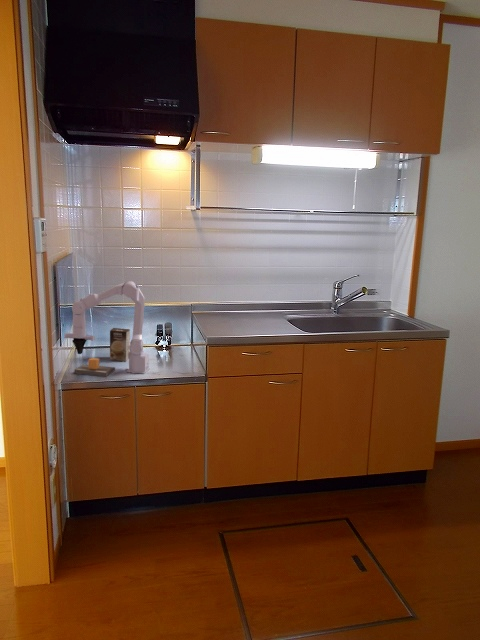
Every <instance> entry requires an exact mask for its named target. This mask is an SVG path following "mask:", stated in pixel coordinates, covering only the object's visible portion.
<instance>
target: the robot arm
mask: <svg viewBox="0 0 480 640" xmlns="http://www.w3.org/2000/svg"><path fill="white" fill-rule="evenodd" d="M116 295H119V296H123V295H124V296H125V297H127V298H129V299H130V300H132V301H133V303H134V312H133V313H134V315H133V316H134V317H133V327H132V338H131V340H130V352H129V359H128V368H127V370H126V371H125V372H127V373H135V374H143V375H144V374H146V373H147V372H148V371H149V370H150V355H149V354H148V353H145V351H144V342H143V329H144V328H143V326H144V316H145V315H144V313H145V304H146V298H145V296H144V294H143V292H142V291H141V289H140V286H139V285H138V284H136V282H134V281H132V280H127V281H125V282H122V283H119V284H117V285H115V286H112V287H110V288H109V289H106V290H104V291H102V292H101V293H98V294H97V293H91V292H90V293H89V294H88V296H86V297H83V298H79V300H76V301H74V303H73V304H72V306H71V311H72V331H73V332H72V333H68V332H67V333H64V339H72V340H71V341H72V343H73V345H74V347H75V349H76V353H77V354H78V355H82V354H83V351H84V347H85V345H86V342H87V341H92V342H93V341H95V340H96V338H95V337H96V336H95V335H91V334H87V330H86V328H87V327H86V325H87V324H86V323H87V322H86V311H88V310H91V309H93V308H94V307H97V306H99V305H100V304H101V302H102V301H104V300H106V299H108V298H111V297H112V296H116Z"/></svg>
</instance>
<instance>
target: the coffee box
mask: <svg viewBox="0 0 480 640" xmlns="http://www.w3.org/2000/svg"><path fill="white" fill-rule="evenodd" d="M130 331H131V329H129V328H120V327H113V328H111V329H110V330H109V361H118V362H127V361H129V352H130V342H131V340H130V338H131V337H130V336H131V335H130V334H131V332H130Z"/></svg>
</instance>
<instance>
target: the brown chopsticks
mask: <svg viewBox="0 0 480 640" xmlns="http://www.w3.org/2000/svg"><path fill="white" fill-rule="evenodd" d="M85 365H88V364H86V363H85ZM100 366H101V367H108V366H106V365H100ZM110 367H111V368H113V371H115V370H116V367H115V366H110Z"/></svg>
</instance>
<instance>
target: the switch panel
mask: <svg viewBox="0 0 480 640" xmlns="http://www.w3.org/2000/svg"><path fill="white" fill-rule="evenodd" d="M101 366H102V365H99V368H98V369H89V364H87V365H86V364H81V365H80V366H78V367H76V368H75V369H74V374H76V375H86V376H92V377H93V376H94V377H95V376H96V377H105V378H107V377H108V376H109V375H111V374H112V373H113V372H114V370H113V368H111V367H112V366H107V367H101Z"/></svg>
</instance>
